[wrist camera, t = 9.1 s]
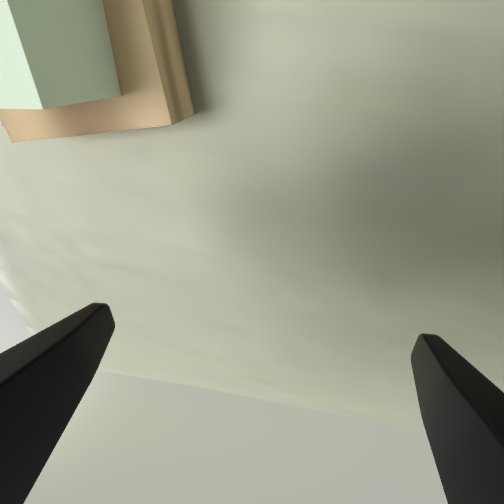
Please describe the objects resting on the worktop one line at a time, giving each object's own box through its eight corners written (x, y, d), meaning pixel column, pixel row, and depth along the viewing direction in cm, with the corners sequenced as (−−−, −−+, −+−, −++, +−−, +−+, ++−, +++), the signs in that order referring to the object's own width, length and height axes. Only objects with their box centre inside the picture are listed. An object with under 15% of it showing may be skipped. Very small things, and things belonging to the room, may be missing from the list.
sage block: (91, -55, 11) (-34, -125, 7) (121, 95, 14) (43, 109, 10) (-27, -48, 12) (-207, -110, 8) (23, 94, 15) (-91, 106, 10)
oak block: (152, -114, 13) (99, -174, 10) (196, 113, 18) (171, 124, 14) (-19, -67, 15) (-114, -106, 11) (62, 129, 19) (12, 142, 16)
